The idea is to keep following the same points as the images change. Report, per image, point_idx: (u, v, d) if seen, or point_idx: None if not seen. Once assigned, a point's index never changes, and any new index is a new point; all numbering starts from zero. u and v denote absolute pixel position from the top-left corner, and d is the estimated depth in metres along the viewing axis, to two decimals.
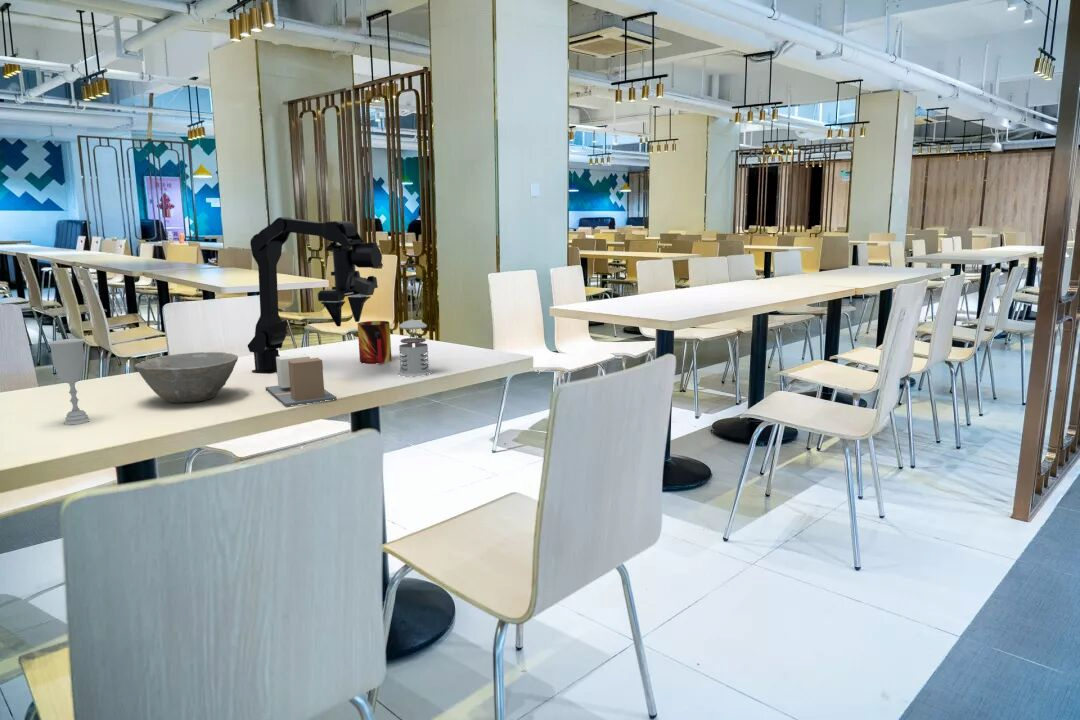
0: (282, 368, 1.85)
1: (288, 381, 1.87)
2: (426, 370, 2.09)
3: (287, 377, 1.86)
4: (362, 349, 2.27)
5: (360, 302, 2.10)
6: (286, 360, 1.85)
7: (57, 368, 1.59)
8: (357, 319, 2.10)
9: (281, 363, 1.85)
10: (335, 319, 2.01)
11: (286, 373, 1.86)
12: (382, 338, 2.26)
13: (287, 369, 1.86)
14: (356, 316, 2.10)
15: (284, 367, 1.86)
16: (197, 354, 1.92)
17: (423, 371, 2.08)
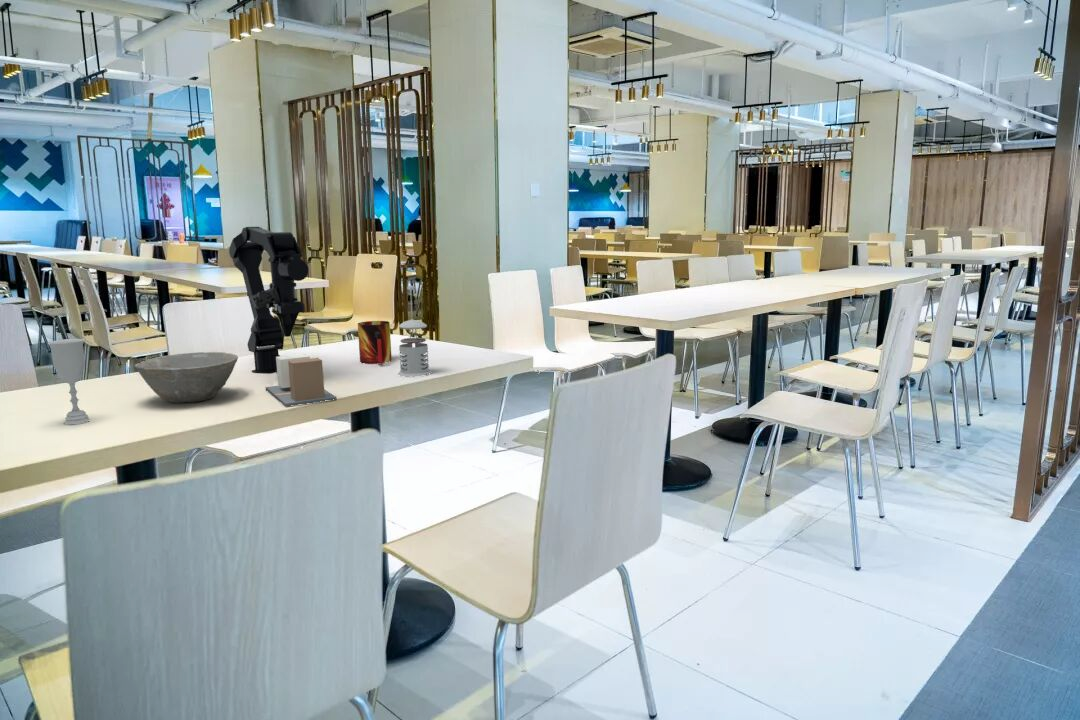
0: (282, 368, 1.85)
1: (288, 381, 1.87)
2: (426, 370, 2.09)
3: (287, 377, 1.86)
4: (362, 349, 2.27)
5: None
6: (286, 360, 1.85)
7: (57, 368, 1.59)
8: None
9: (281, 363, 1.85)
10: None
11: (286, 373, 1.86)
12: (382, 338, 2.26)
13: (287, 369, 1.86)
14: None
15: (284, 367, 1.86)
16: (197, 354, 1.92)
17: (423, 371, 2.08)
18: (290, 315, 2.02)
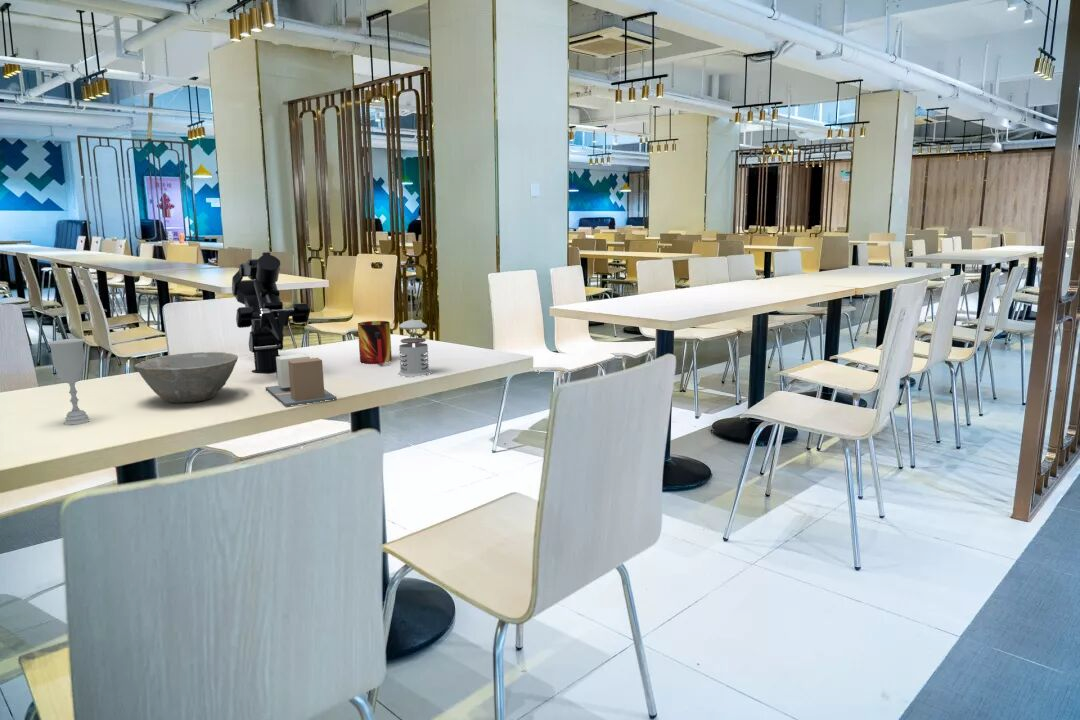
0: (282, 368, 1.85)
1: (288, 381, 1.87)
2: (426, 370, 2.09)
3: (287, 377, 1.86)
4: (362, 349, 2.26)
5: None
6: (286, 360, 1.85)
7: (57, 368, 1.59)
8: None
9: (281, 363, 1.85)
10: (282, 332, 2.00)
11: (286, 373, 1.86)
12: (382, 338, 2.26)
13: (287, 369, 1.86)
14: None
15: (284, 367, 1.86)
16: (197, 354, 1.92)
17: (423, 371, 2.08)
18: None
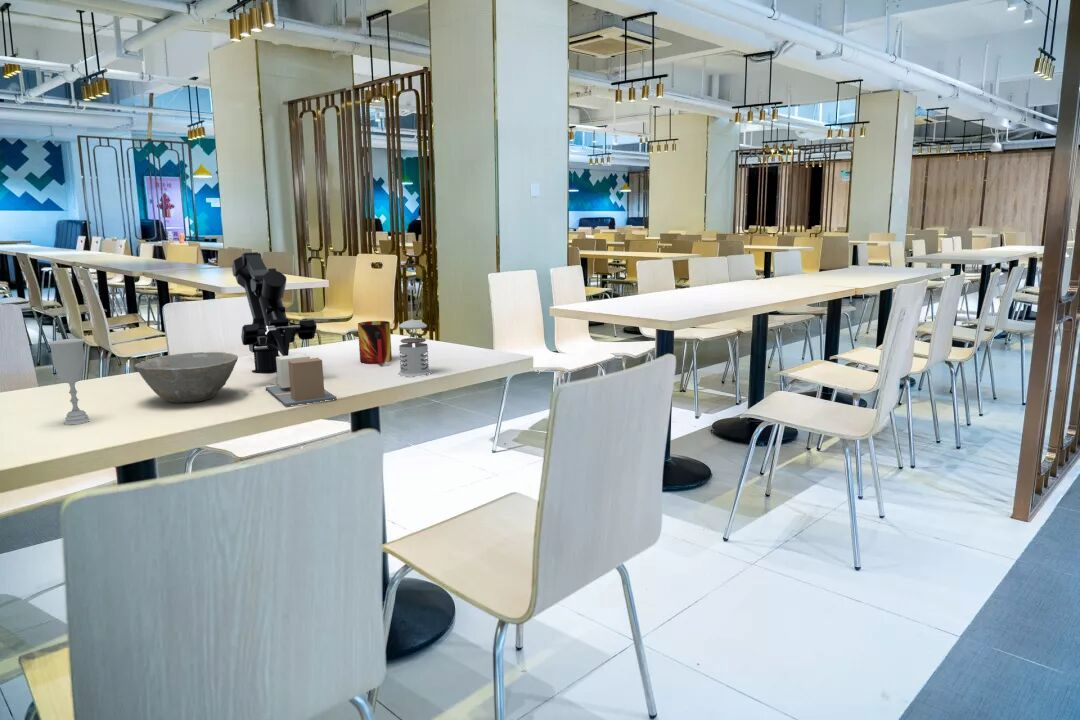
0: (282, 368, 1.85)
1: (288, 381, 1.87)
2: (426, 370, 2.09)
3: (287, 377, 1.86)
4: (362, 349, 2.26)
5: None
6: (286, 360, 1.85)
7: (57, 368, 1.59)
8: None
9: (281, 363, 1.85)
10: (288, 349, 1.96)
11: (286, 373, 1.86)
12: (382, 338, 2.26)
13: (287, 369, 1.86)
14: None
15: (284, 367, 1.86)
16: (197, 354, 1.92)
17: (423, 371, 2.08)
18: None
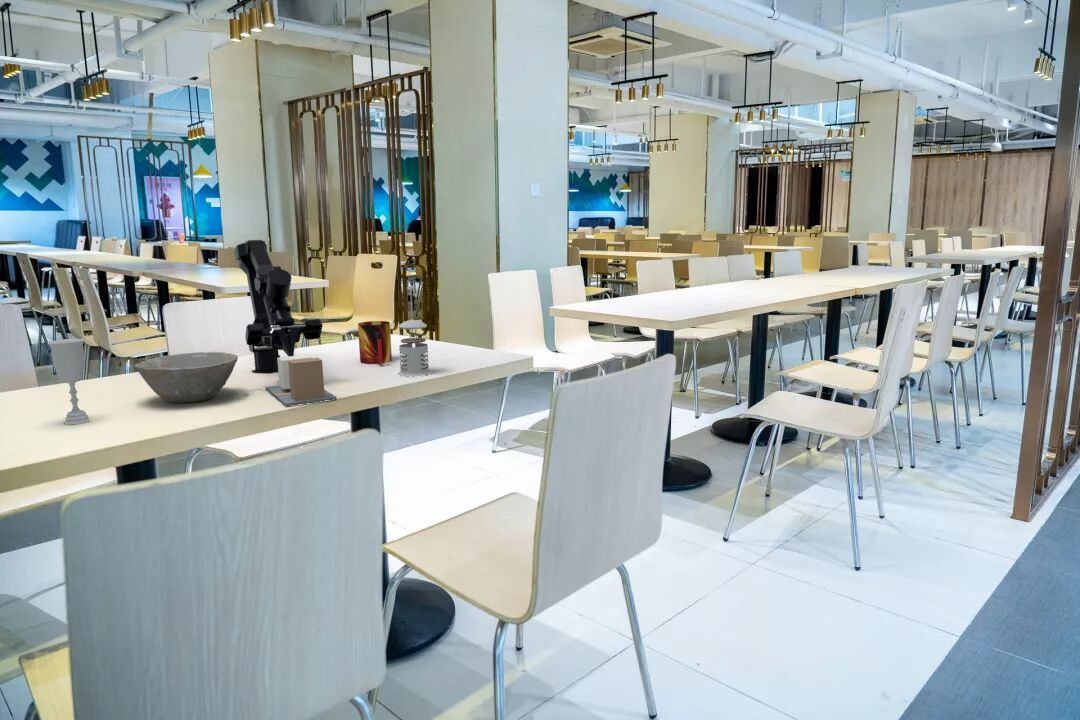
0: (284, 369, 1.84)
1: None
2: (426, 370, 2.09)
3: (288, 378, 1.85)
4: (362, 349, 2.26)
5: None
6: None
7: (57, 368, 1.59)
8: None
9: (283, 364, 1.84)
10: None
11: (288, 374, 1.85)
12: (382, 338, 2.26)
13: (288, 370, 1.85)
14: None
15: (286, 368, 1.84)
16: (197, 354, 1.92)
17: (423, 371, 2.08)
18: None
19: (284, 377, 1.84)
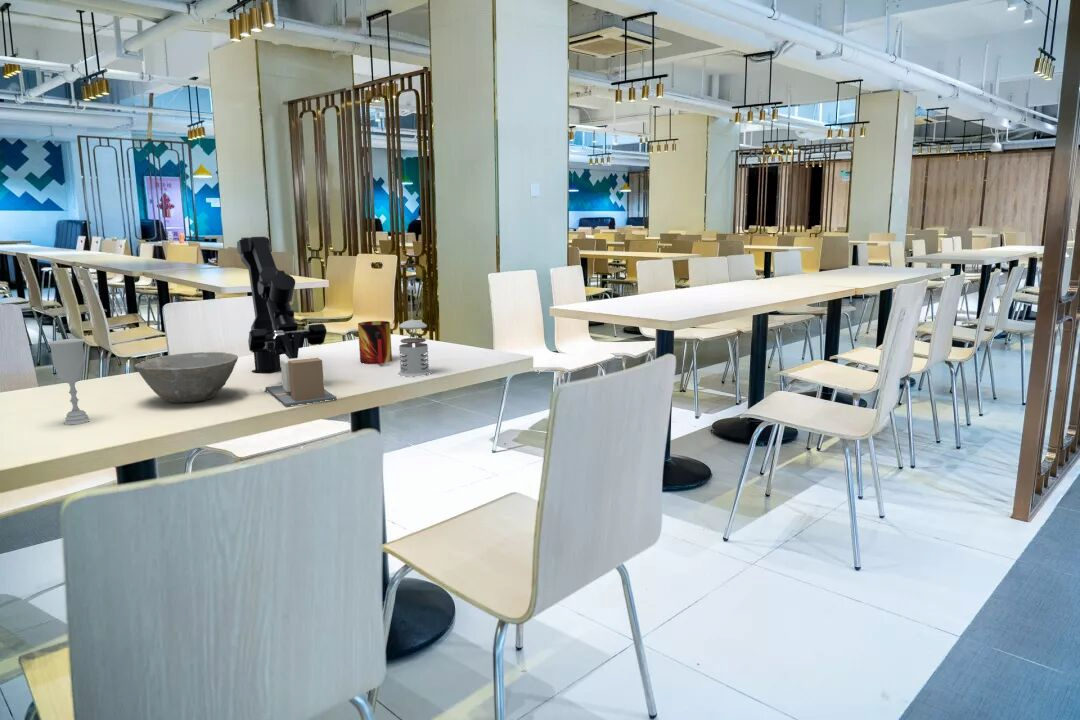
0: (287, 371, 1.81)
1: None
2: (426, 370, 2.09)
3: None
4: (362, 349, 2.26)
5: None
6: None
7: (57, 368, 1.59)
8: None
9: (286, 366, 1.81)
10: (297, 355, 1.88)
11: None
12: (382, 338, 2.26)
13: None
14: None
15: None
16: (197, 354, 1.92)
17: (423, 371, 2.08)
18: None
19: (287, 379, 1.81)
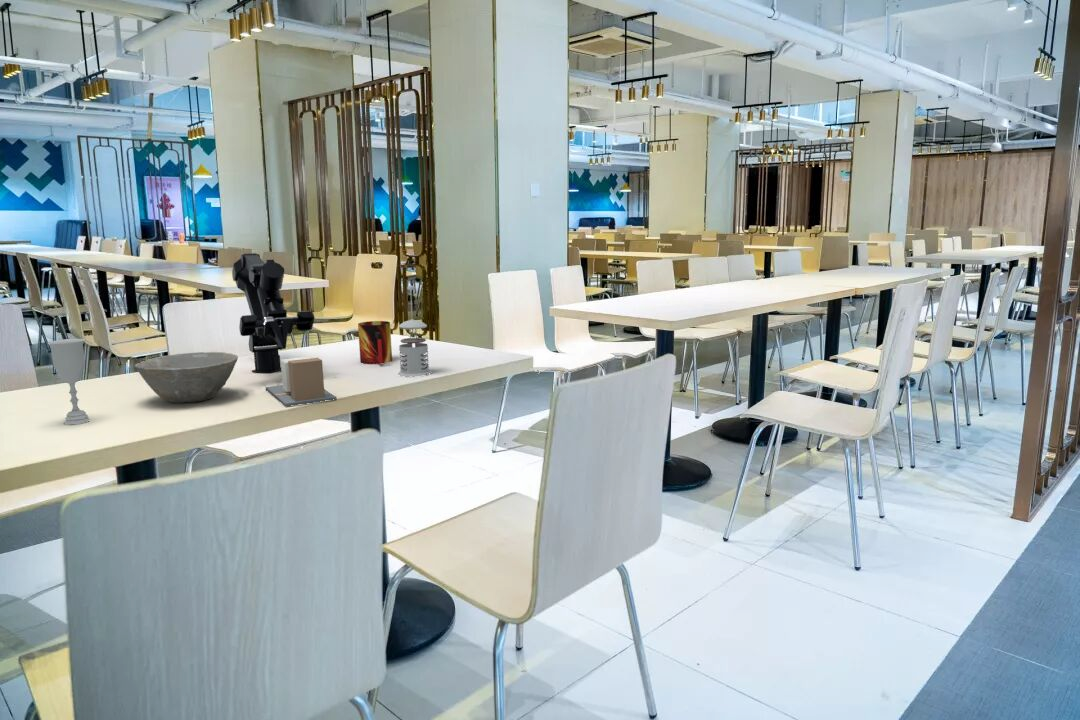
0: (287, 371, 1.81)
1: None
2: (426, 370, 2.09)
3: None
4: (362, 349, 2.26)
5: None
6: None
7: (57, 368, 1.59)
8: None
9: (286, 366, 1.81)
10: (286, 340, 1.97)
11: None
12: (382, 338, 2.26)
13: None
14: None
15: None
16: (197, 354, 1.92)
17: (423, 371, 2.08)
18: None
19: (287, 379, 1.81)
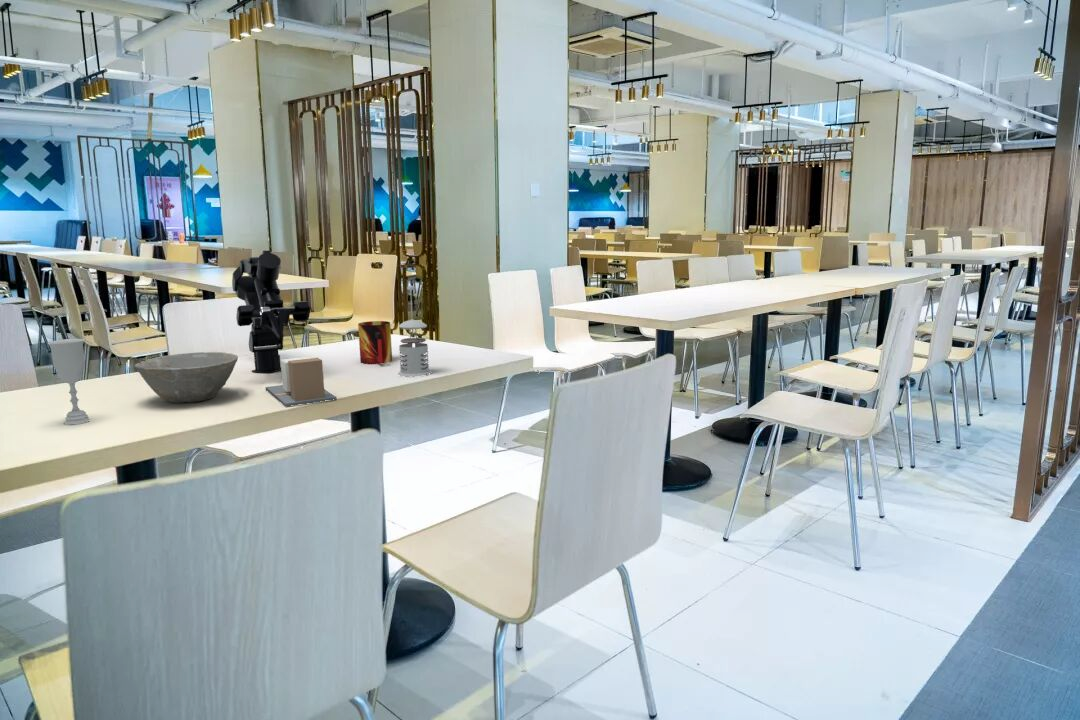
0: (287, 371, 1.81)
1: None
2: (426, 370, 2.09)
3: None
4: (363, 349, 2.26)
5: None
6: None
7: (57, 368, 1.59)
8: None
9: (286, 366, 1.81)
10: None
11: None
12: (383, 338, 2.26)
13: None
14: None
15: None
16: (197, 354, 1.92)
17: (423, 371, 2.08)
18: None
19: (287, 379, 1.81)
